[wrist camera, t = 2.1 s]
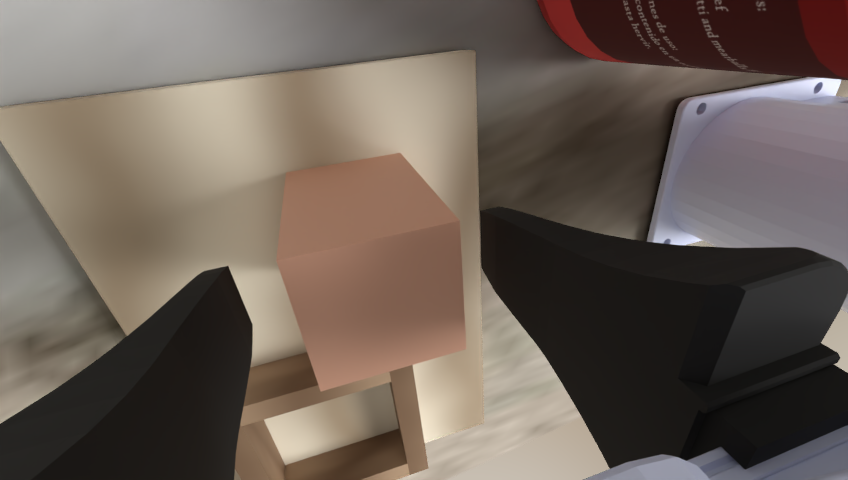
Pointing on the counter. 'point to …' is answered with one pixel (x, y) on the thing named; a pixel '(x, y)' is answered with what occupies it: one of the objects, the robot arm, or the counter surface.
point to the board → (267, 233)
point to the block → (370, 268)
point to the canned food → (709, 33)
